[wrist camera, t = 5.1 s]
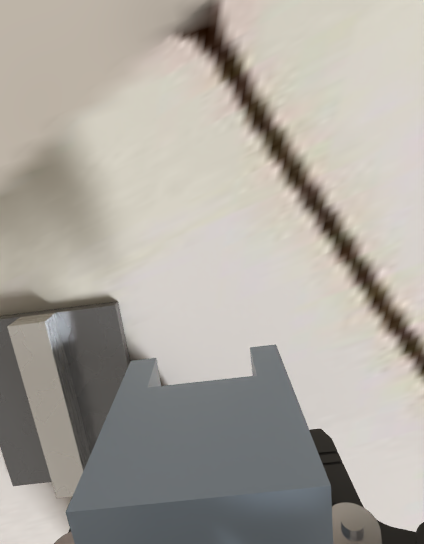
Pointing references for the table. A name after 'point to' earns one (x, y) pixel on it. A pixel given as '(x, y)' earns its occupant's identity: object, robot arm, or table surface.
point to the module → (204, 464)
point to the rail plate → (89, 378)
